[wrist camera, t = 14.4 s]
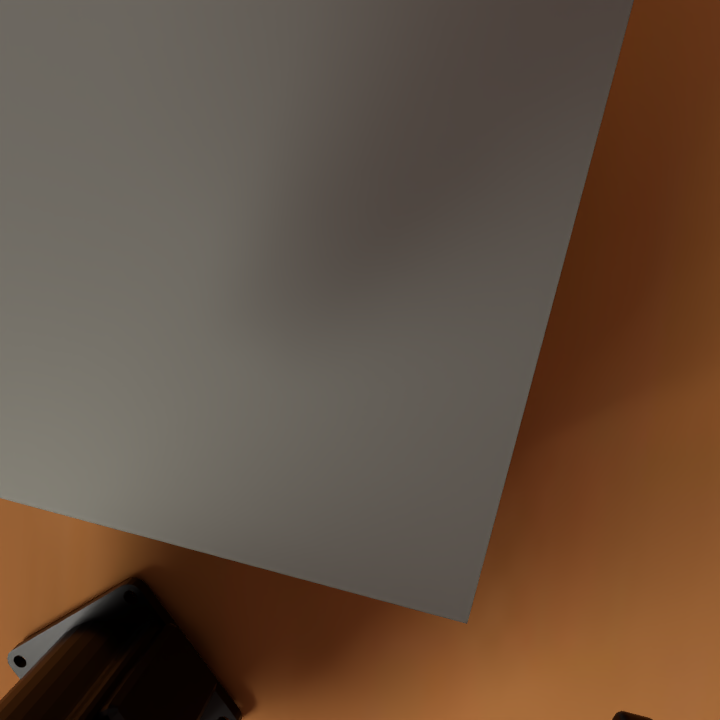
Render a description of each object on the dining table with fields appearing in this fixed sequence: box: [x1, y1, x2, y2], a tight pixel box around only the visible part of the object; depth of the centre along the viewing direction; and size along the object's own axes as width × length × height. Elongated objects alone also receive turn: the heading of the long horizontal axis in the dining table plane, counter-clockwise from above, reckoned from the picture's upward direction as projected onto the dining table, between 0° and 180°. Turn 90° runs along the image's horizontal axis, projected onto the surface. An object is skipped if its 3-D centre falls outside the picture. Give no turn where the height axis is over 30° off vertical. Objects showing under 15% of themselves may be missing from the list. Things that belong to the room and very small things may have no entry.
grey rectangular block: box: [0, 0, 634, 624], centre depth 16 cm, size 20×12×8 cm, turn 79°
